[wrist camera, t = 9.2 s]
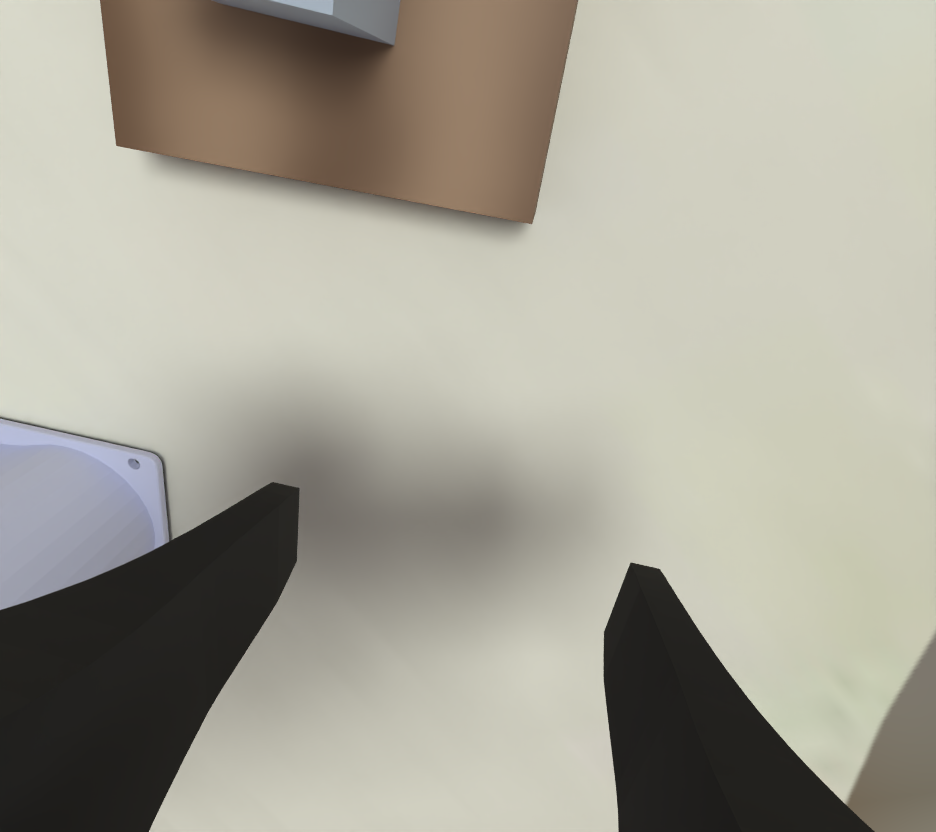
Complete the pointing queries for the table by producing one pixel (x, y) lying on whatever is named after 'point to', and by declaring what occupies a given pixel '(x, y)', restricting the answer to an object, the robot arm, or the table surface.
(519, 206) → the walnut base
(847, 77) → the table surface
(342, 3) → the slate cube
